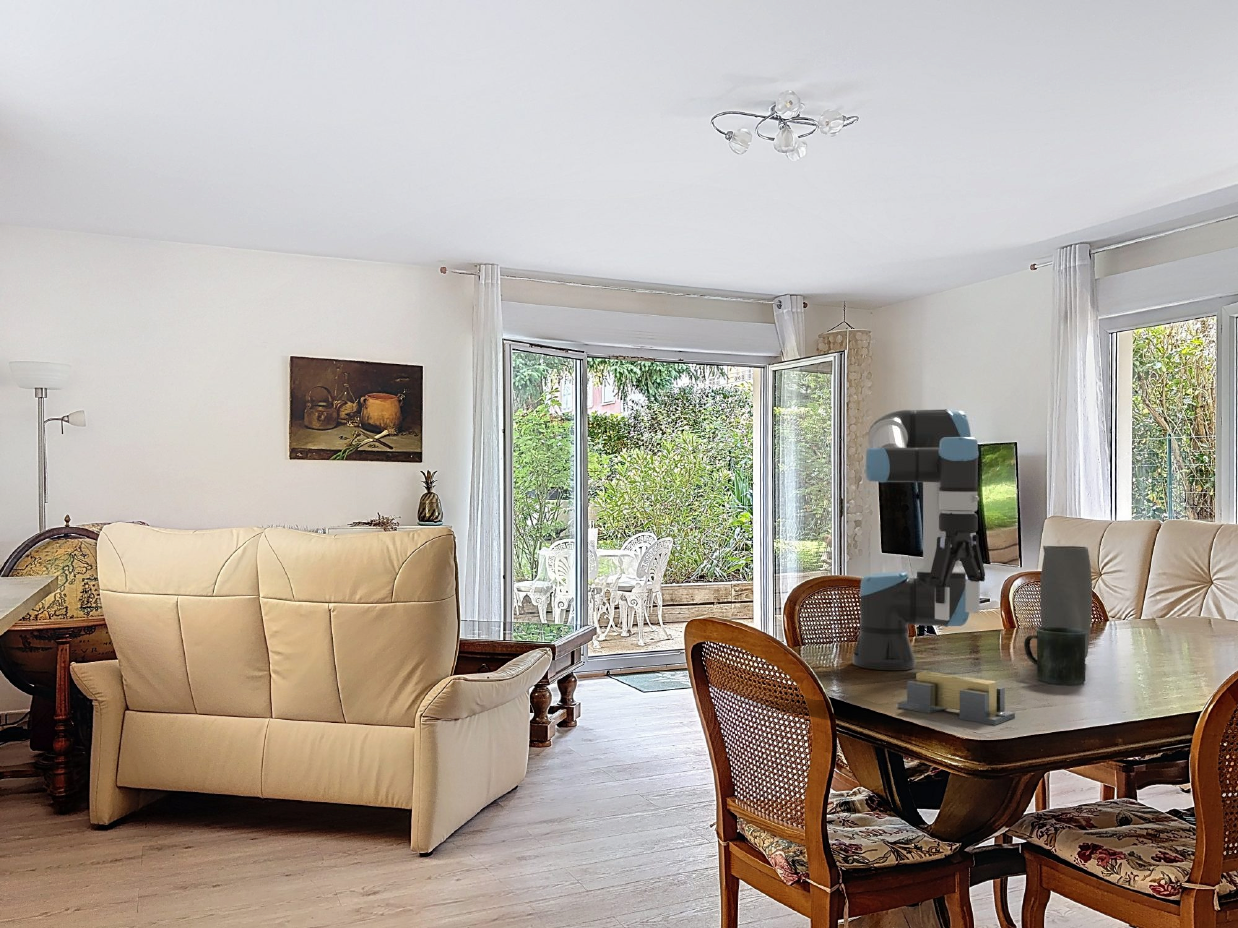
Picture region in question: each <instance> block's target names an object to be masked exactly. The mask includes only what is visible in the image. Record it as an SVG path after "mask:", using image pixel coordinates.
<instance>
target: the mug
mask: <svg viewBox="0 0 1238 928" xmlns="http://www.w3.org/2000/svg"><path fill="white" fill-rule="evenodd" d="M1034 630H1035V632H1036V634H1032V635H1027V636H1026V638H1025V639H1024V642H1023V643H1024V644H1023V645H1024V646H1023V647H1024V652H1025V655H1026V657H1027V659H1028V661H1029V662H1031V663H1032V664H1034V665H1035V666H1036V678H1037V679H1038V680H1039V681H1041V682H1045V683H1047V684H1048V683H1049V684H1056V685H1065V686H1067V685H1068V686H1074V685H1075V686H1079V685H1083V684H1085V682H1086V658H1085V635H1086V634H1087V631H1085V630H1081V629H1075V628H1066V627H1041V626H1038V627H1035V628H1034ZM1032 639H1033V640H1035V639H1036V658H1035V656H1034V655H1033V653H1032V650H1031V641H1032Z"/></svg>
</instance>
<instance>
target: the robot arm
mask: <svg viewBox="0 0 1238 928" xmlns="http://www.w3.org/2000/svg"><path fill="white" fill-rule="evenodd" d="M970 428H971V427H970V423H969V420H968V416H967V414H966V412H964V411H963V410H959V409H947V408H945V409H917V410H916V409H903V410H897V411H892V412H890V413H887V414H884V415H883V416H881V417H879V418H878V419H877V420H875V421H874V422H873V424H871V426H870V427H869V430H868V433H867V440H868V441H867V442H868V445H869V448H867V449H866V451H865V478H866V480H867V481H868V482H876V483H877V482H878V483H881V484H883V483H922V484H923V485H922V488H923V489H922V492H923V493H922V495H923V496H922V498H923V499H922V500H923V501H922V506H923V507H922V515H923V516H922V517H923V518H922V519H923V520H922V521H923V522H922V529H923V530H922V532H923V533H922V535H923V537H922V540H923V541H922V547H923V548H922V550H923V551H922V557H923V558H922V561H923V562H922V565H921V566H920V567H919V568H918V569H917V570H916V577H910V576H909V574H908V572H906V571H889V572H880V573H878V572H877V573H873V574H869V575H865V576H864V577H863V578H862V579H861V581H860V588H859V589H860V590H859V591H860V592H859V594H858V595H859V597H860V608H859V609H860V610H859V611H860V612H859V613H860V615H859V635H858V638H857V642H856V645H855V646H854V647H855V648H854V650H853V653H852V665H854V666H856V667H859V668H864V669H869V670H876V671H877V670H879V671H906V670H912V669H915V668H916V658H915V655H914V651H913V649H912V645H911V642H910V639H909V635H908V634H909V632H908V630H909V629H908V628H909V625H910V626H930V627H931V626H932V627H933V626H934V627H935V626H936V627H946V628H948V627H962V626H964V625H965V624H967V622H968V621H969V616H970V614H971V613H972V614H980V611H981V610H980V606H981V605H980V602H981V601H980V599H981V598H980V593H981V592H980V590H981V589H980V588H981V587H980V585H981V584H980V582H985V580H986V578H985V577H986V572H985V567H984V562H983V558H982V554H981V549H980V546H979V545H980V544H979V543H980V541H979V540H980V539H979V535H978V534H975V532H978V529H979V526H978V523H979V521H978V517H979V516H978V515H977V513H975V512H977V510H978V502H979V501H980V497H979V496H978V493H979V492H978V489H979V488H978V480H979V479H978V477H979V476H978V473H979V472H978V471H979V469H978V468H979V465H978V464H979V454H980V453H979V445H978V443H979V442H978V439H976V438H975V437H972V436H971V430H970ZM971 533H974V534H971ZM960 562H961V563H960ZM960 564H961V565H962V566H960ZM962 567H963V568H962Z"/></svg>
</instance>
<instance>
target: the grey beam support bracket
mask: <svg viewBox="0 0 1238 928" xmlns="http://www.w3.org/2000/svg"><path fill="white" fill-rule="evenodd" d="M1005 690H1006V688H1005V687H1002V686H997V712H995V714H992V715H989V693H988V692H982V691H975V690H969V689H962V690H960V705H959V710H958V711H959V716H958V717H959V720H962V721H963V720H964V721H970V722H975V723H981V724H986V725H993V726H997V725H999V724H1001V723H1004V722H1007V721H1010V720H1012V719H1015V718H1016V716H1015V714H1016V712H1013V711H1008V710H1005V709H1006V707H1005V706H1006V705H1005V704H1006V701H1005V700H1006V699H1005V693H1006V691H1005Z"/></svg>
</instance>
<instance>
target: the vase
mask: <svg viewBox="0 0 1238 928" xmlns="http://www.w3.org/2000/svg"><path fill="white" fill-rule="evenodd" d="M1042 549H1043V559H1042V566H1041V573H1040V583H1039V584H1040V585H1039V586H1040V588H1039V595H1040V596H1039V597H1040V598H1039V600H1040V602H1039V603H1040V605H1039V606H1040V607H1039V609H1040V627H1066V628H1075V629H1081V630H1085V631H1087V634H1086V635H1085V659H1086V658H1087V657H1088V655H1089V654H1088V653H1089V644H1090V635H1091V629H1092V628H1091V627H1092V616H1093V615H1092V612H1093V579H1092V578H1093V577H1092V576H1093V575H1092V569H1091V568H1092V567H1091V559H1090V558H1091V557H1090V553H1089V547H1088V546H1079V545H1078V546H1076V545H1075V546H1074V545H1068V546H1067V545H1043V546H1042Z"/></svg>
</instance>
